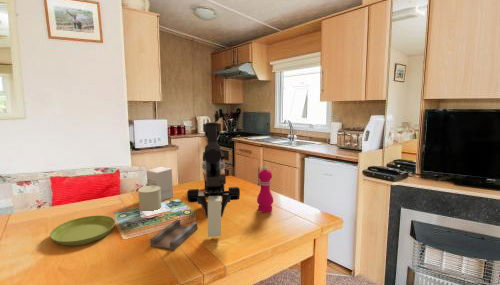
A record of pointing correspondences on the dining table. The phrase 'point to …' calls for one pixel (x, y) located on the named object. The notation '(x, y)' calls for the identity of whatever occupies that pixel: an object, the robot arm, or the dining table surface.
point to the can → (149, 198)
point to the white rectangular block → (214, 216)
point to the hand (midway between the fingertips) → (214, 217)
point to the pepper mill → (265, 191)
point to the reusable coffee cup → (221, 169)
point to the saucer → (82, 230)
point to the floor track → (173, 235)
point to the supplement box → (161, 181)
